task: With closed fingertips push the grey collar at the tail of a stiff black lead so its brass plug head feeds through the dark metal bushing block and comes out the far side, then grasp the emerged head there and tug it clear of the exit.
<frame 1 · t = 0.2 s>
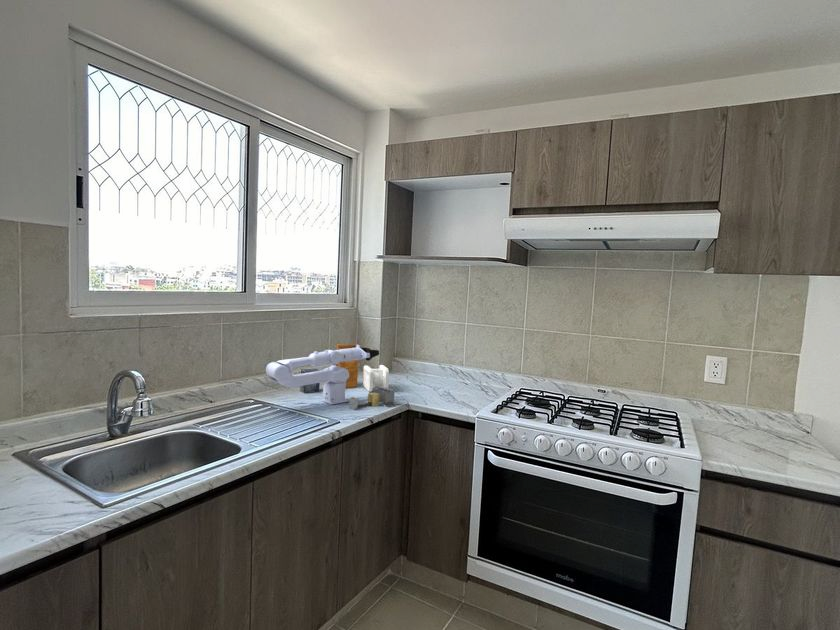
hand: (373, 351, 212), 21 cm above the worktop, tool horizontal, fingers open, 7 cm apart
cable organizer: (374, 390, 226), on the worktop
housing: (383, 402, 202), on the worktop
box: (309, 391, 216), on the worktop
plug: (373, 404, 198), on the worktop
coffee package: (344, 386, 230), on the worktop
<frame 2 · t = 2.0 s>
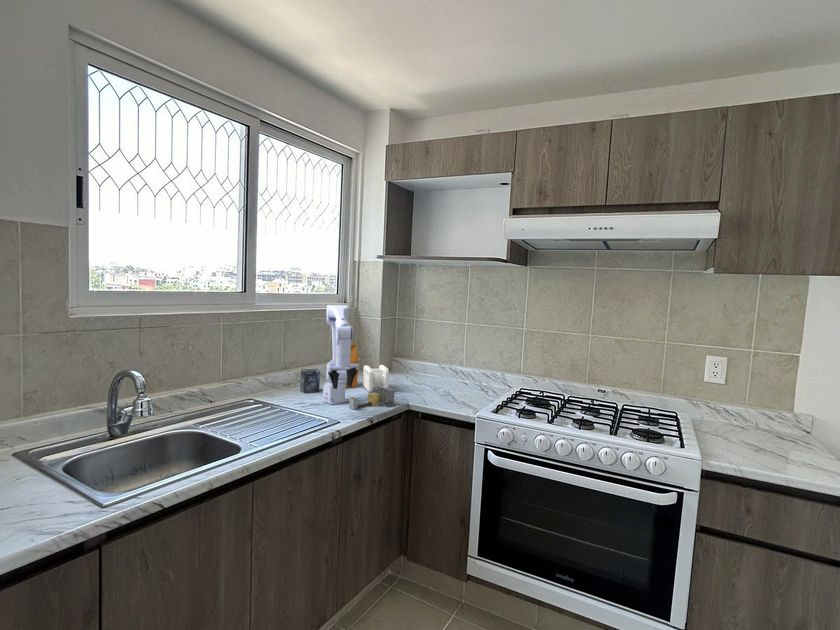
hand: (342, 387, 186), 10 cm above the worktop, tool pointing down, fingers open, 6 cm apart
nothing on the worktop moved.
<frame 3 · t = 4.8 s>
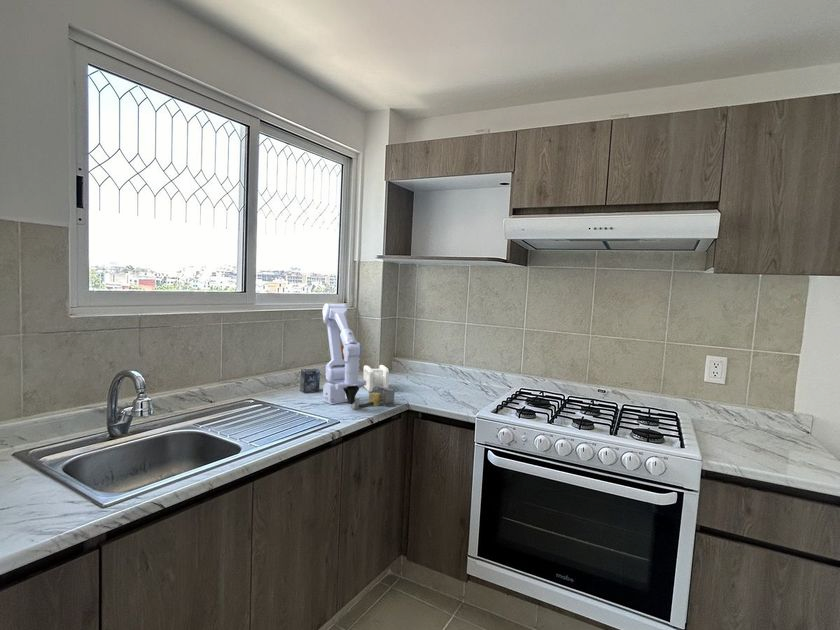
hand: (350, 403, 189), 2 cm above the worktop, tool pointing down, fingers closed
plug: (374, 404, 199), on the worktop, touching gripper
everything else where it was.
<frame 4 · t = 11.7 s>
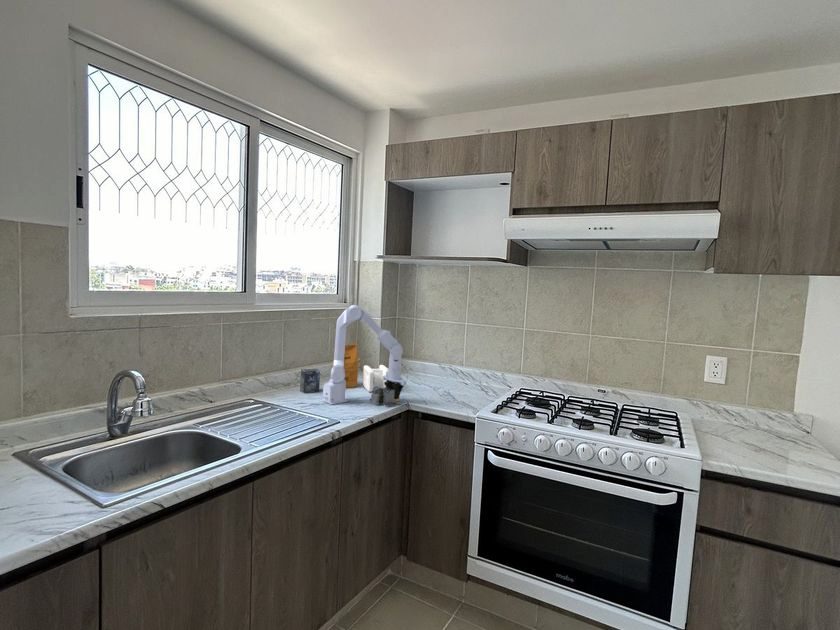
hand: (393, 397, 206), 1 cm above the worktop, tool pointing down, fingers closed on plug, 3 cm apart
plug: (393, 400, 206), on the worktop, touching gripper
everything else where it was.
when the fingers open (2 cm above the worktop, at t = 13.6 s): plug stays where it is, on the worktop.
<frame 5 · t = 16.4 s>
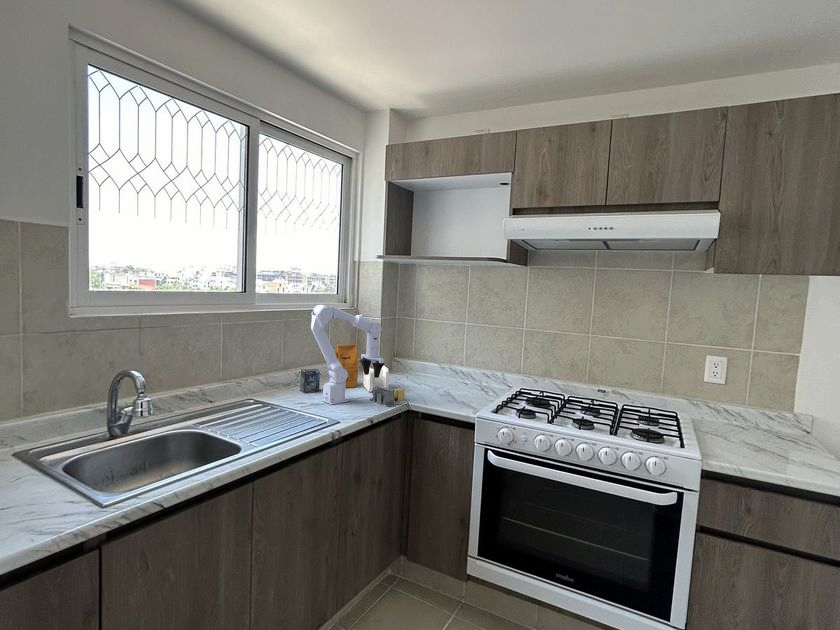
hand: (371, 376, 209), 10 cm above the worktop, tool pointing down, fingers open, 7 cm apart
plug: (398, 399, 209), on the worktop
everything else where it was.
at the end: plug inside the target area (1.4 cm from its centre), on the worktop; the gripper is holding nothing; plug tilted 0° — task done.
